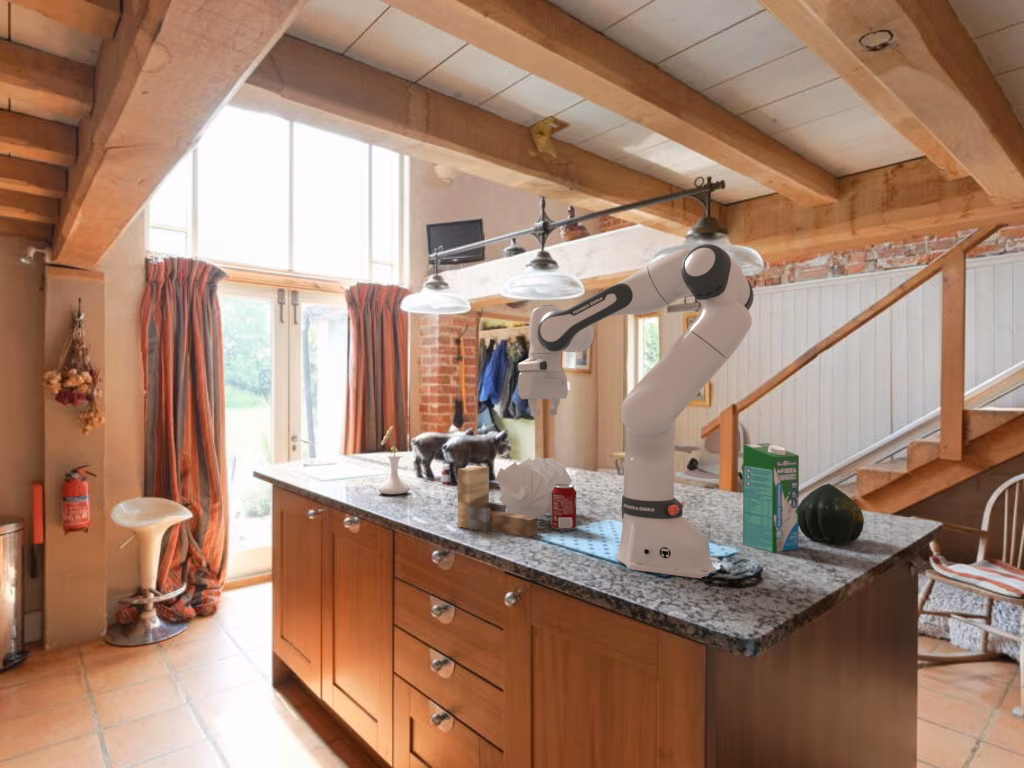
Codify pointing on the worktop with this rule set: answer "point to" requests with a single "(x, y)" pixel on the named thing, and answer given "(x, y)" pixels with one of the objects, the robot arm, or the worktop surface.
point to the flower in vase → (393, 473)
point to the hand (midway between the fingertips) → (544, 415)
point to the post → (475, 498)
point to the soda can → (563, 507)
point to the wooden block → (513, 523)
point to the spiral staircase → (531, 485)
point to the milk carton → (770, 497)
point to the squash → (830, 516)
